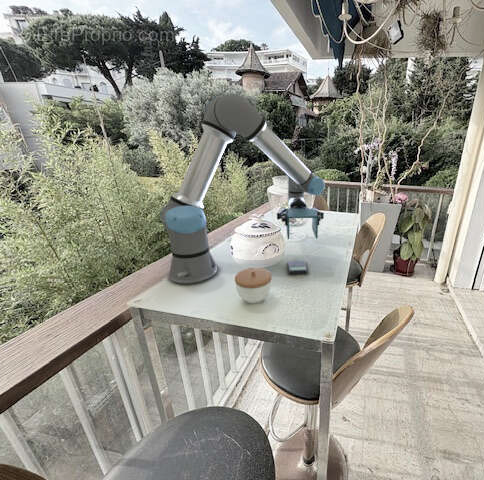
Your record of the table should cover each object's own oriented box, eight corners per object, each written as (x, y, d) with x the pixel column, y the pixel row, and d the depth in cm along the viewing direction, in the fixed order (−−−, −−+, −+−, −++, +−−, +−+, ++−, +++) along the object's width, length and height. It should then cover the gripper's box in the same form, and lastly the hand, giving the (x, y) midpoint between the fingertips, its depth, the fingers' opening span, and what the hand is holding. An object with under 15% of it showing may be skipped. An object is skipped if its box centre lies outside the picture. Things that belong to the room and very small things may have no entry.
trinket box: (252, 312, 75) (250, 284, 72) (229, 298, 81) (226, 271, 78) (279, 296, 83) (278, 270, 80) (256, 285, 89) (255, 259, 86)
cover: (286, 229, 107) (286, 208, 103) (313, 228, 108) (314, 208, 105) (287, 239, 96) (287, 216, 93) (317, 238, 98) (318, 216, 95)
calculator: (288, 264, 105) (288, 260, 104) (304, 263, 106) (304, 260, 105) (289, 274, 97) (289, 270, 96) (306, 273, 98) (306, 270, 97)
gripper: (323, 214, 120) (333, 230, 100) (271, 215, 116) (270, 232, 96) (324, 198, 117) (334, 211, 97) (270, 198, 114) (269, 212, 93)
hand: (302, 221), depth 97 cm, fingers closed on cover, 11 cm apart
